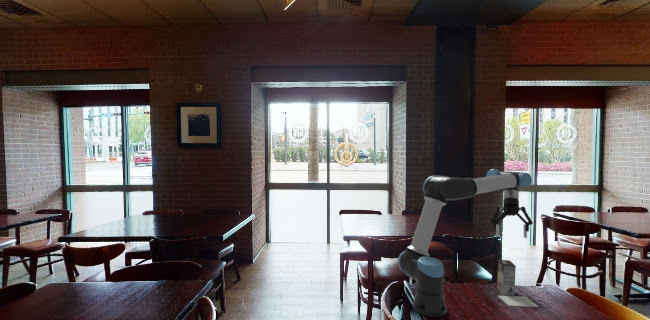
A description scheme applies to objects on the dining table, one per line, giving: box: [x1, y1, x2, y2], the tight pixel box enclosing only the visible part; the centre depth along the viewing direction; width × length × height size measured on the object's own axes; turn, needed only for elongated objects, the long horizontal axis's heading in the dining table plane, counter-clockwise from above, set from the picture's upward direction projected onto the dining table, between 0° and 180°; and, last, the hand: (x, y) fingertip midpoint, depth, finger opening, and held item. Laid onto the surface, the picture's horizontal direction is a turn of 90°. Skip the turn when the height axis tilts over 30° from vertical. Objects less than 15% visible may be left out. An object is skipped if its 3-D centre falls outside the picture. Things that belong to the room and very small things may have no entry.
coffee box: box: [496, 259, 517, 296], centre depth 175 cm, size 9×6×16 cm
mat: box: [497, 295, 539, 308], centre depth 164 cm, size 14×11×1 cm
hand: (511, 237), depth 175 cm, fingers open, 13 cm apart
